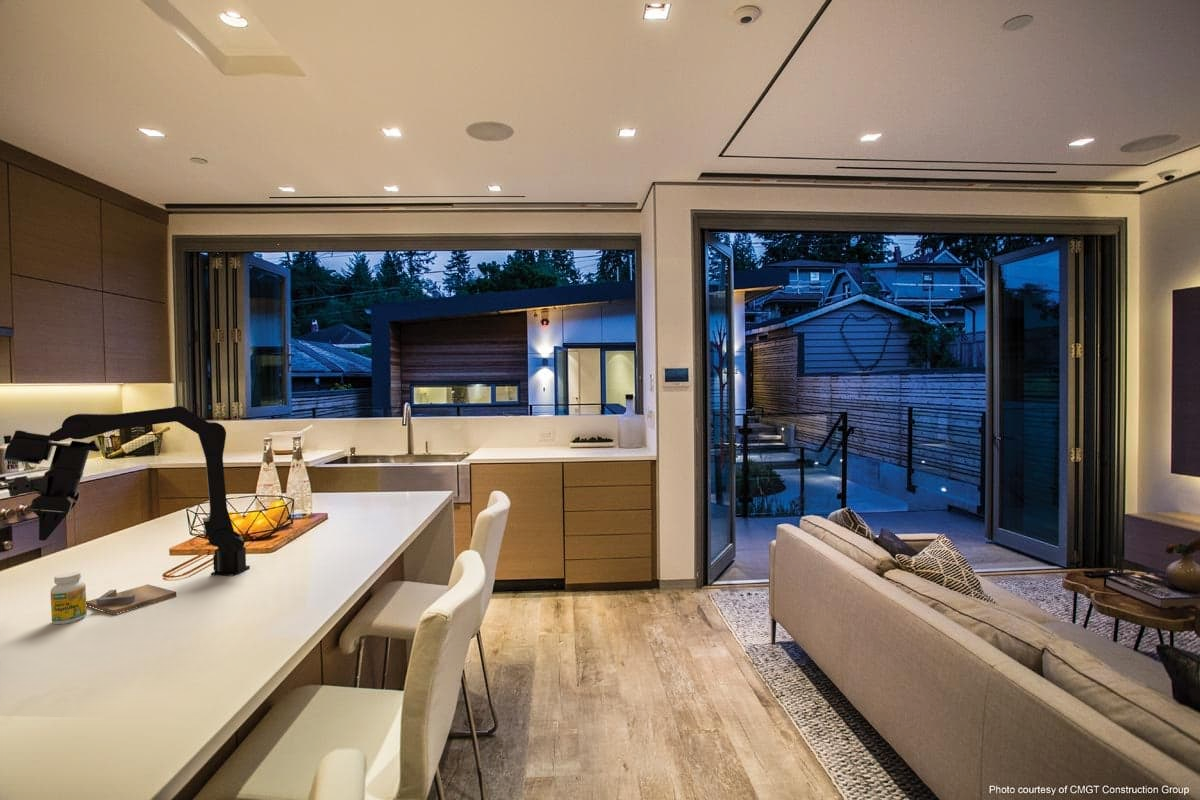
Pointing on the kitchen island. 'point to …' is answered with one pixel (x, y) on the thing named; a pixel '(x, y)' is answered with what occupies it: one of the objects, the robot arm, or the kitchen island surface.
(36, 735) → the kitchen island surface
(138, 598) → the square wooden base plate
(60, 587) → the supplement bottle
